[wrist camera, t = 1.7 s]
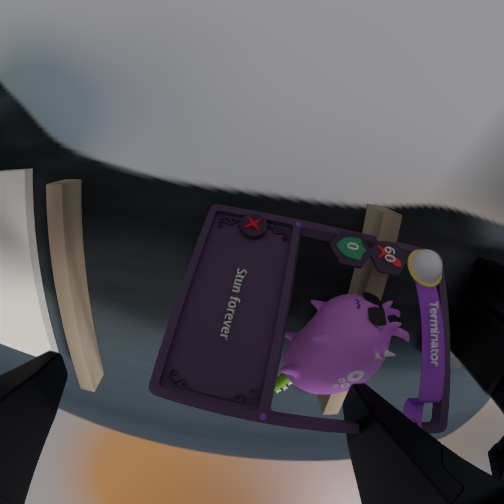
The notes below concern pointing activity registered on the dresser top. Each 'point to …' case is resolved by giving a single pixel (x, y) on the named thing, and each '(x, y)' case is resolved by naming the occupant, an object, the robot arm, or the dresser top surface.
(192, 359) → the game card
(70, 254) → the rails
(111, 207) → the dresser top surface
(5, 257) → the pad
